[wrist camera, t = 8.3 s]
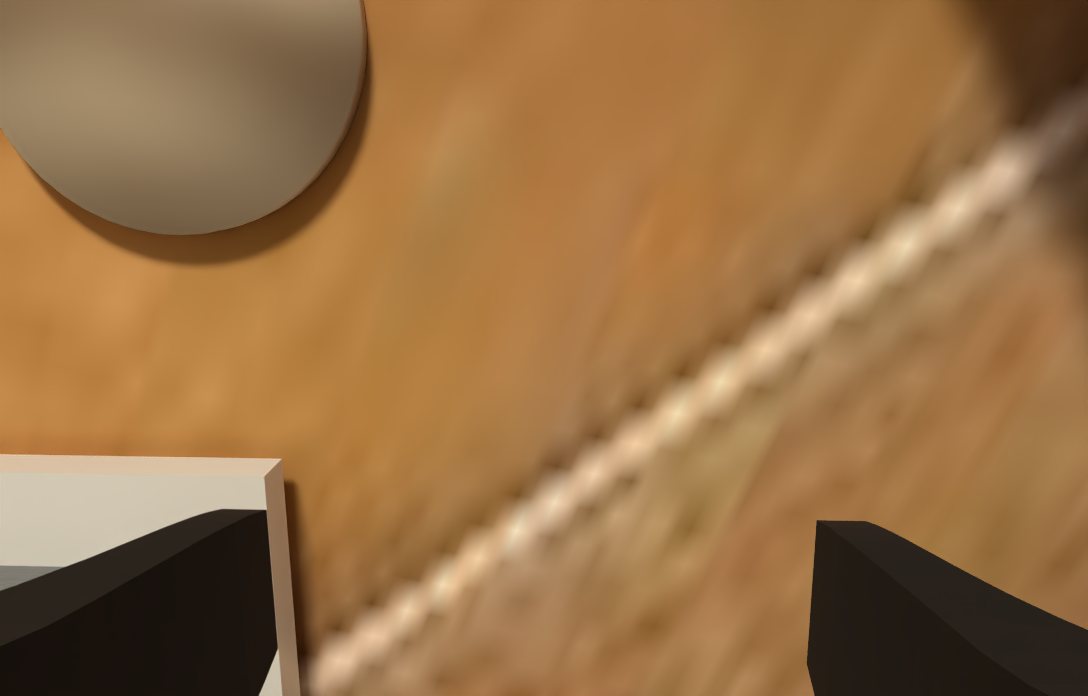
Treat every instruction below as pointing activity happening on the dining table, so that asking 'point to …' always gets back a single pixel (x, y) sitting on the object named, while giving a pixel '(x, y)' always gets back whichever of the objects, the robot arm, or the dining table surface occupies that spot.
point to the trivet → (142, 517)
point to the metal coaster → (180, 103)
